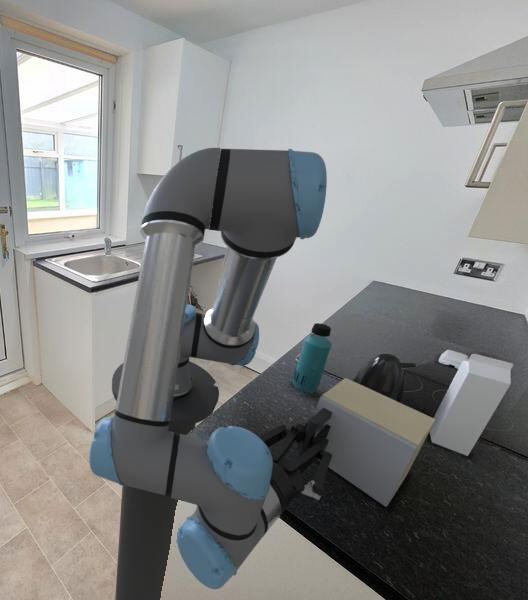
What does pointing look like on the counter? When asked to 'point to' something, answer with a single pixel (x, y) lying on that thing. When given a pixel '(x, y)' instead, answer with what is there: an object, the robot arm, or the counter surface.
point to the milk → (470, 402)
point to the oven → (383, 414)
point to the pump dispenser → (384, 375)
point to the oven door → (360, 450)
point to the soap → (452, 358)
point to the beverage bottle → (312, 359)
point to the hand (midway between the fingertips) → (319, 426)
